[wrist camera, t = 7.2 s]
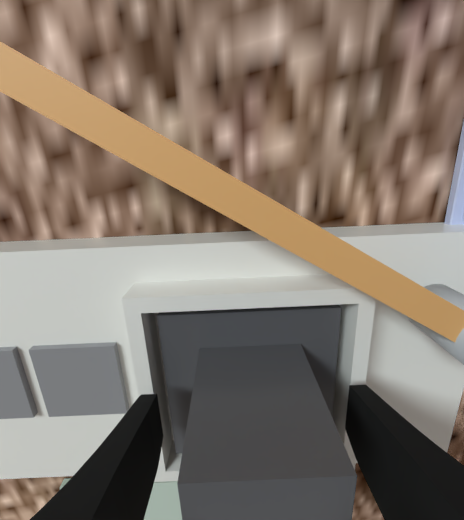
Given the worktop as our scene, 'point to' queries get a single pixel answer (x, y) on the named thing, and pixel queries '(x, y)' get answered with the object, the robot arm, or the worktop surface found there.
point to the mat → (160, 501)
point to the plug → (257, 413)
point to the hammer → (231, 197)
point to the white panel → (197, 299)
